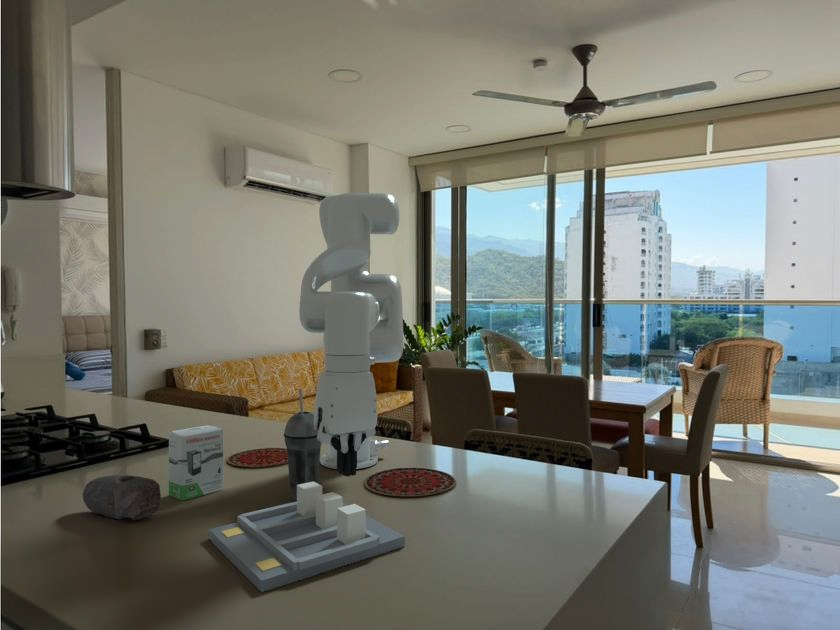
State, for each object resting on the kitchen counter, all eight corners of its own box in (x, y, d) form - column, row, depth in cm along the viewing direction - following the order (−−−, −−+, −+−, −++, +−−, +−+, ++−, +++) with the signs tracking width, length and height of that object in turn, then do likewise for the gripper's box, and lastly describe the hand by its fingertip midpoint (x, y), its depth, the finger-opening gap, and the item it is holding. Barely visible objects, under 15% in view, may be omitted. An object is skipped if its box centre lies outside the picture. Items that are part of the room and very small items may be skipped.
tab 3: (354, 533, 86) (354, 503, 86) (365, 540, 84) (365, 509, 84) (336, 538, 84) (336, 508, 84) (347, 546, 82) (347, 514, 82)
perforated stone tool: (71, 515, 97) (71, 474, 97) (99, 504, 102) (98, 465, 102) (138, 529, 92) (138, 485, 92) (164, 517, 97) (164, 475, 96)
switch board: (335, 506, 102) (335, 492, 102) (406, 547, 85) (406, 530, 85) (208, 538, 88) (208, 521, 88) (262, 593, 72) (262, 573, 72)
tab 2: (333, 520, 91) (333, 491, 91) (342, 526, 89) (342, 497, 89) (315, 524, 89) (315, 495, 89) (325, 531, 87) (325, 501, 87)
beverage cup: (331, 492, 109) (331, 386, 108) (311, 505, 102) (311, 392, 102) (297, 487, 111) (296, 384, 111) (275, 500, 105) (275, 389, 104)
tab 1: (313, 508, 96) (313, 481, 96) (322, 513, 94) (322, 486, 94) (296, 512, 94) (296, 484, 94) (305, 518, 92) (305, 489, 92)
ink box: (181, 501, 104) (180, 436, 103) (167, 495, 107) (167, 431, 107) (224, 489, 110) (224, 427, 110) (210, 484, 114) (210, 424, 113)
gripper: (372, 361, 105) (372, 462, 105) (296, 365, 96) (296, 476, 96) (396, 364, 99) (396, 471, 99) (317, 369, 90) (317, 487, 90)
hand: (347, 474), depth 98 cm, fingers closed
